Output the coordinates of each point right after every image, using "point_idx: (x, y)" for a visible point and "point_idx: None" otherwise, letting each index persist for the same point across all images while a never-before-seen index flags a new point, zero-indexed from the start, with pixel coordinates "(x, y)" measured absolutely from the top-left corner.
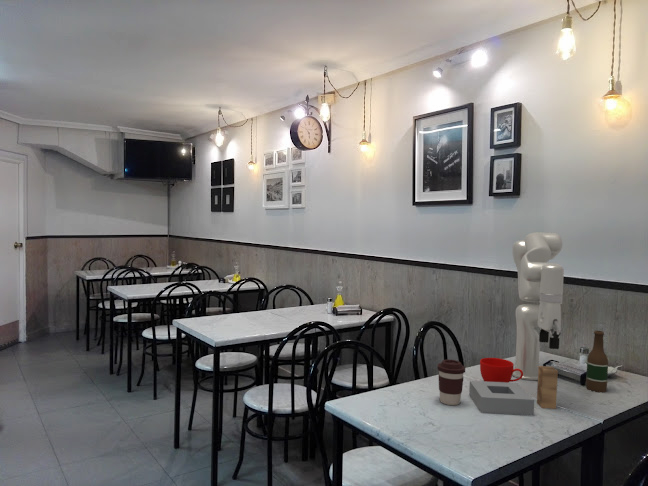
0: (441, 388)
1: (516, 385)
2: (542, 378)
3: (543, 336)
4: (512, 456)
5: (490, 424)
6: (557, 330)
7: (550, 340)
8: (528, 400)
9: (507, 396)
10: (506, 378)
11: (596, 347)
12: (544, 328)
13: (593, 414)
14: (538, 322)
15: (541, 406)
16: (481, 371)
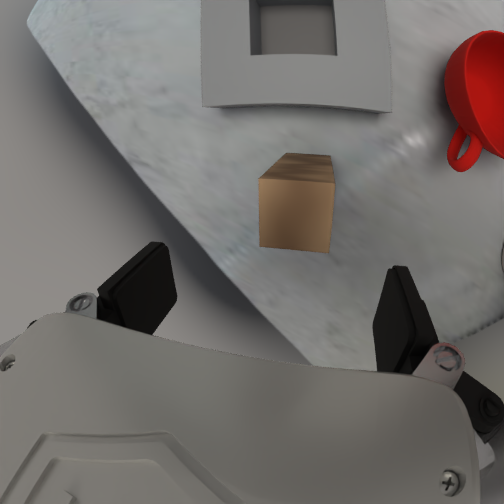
0: None
1: (358, 94)
2: (276, 169)
3: (391, 326)
4: (53, 54)
5: (150, 5)
6: (8, 345)
7: (114, 276)
8: (202, 88)
9: (220, 28)
10: (451, 105)
11: None
12: (83, 330)
13: (257, 274)
14: (414, 443)
15: (288, 153)
16: (486, 41)
